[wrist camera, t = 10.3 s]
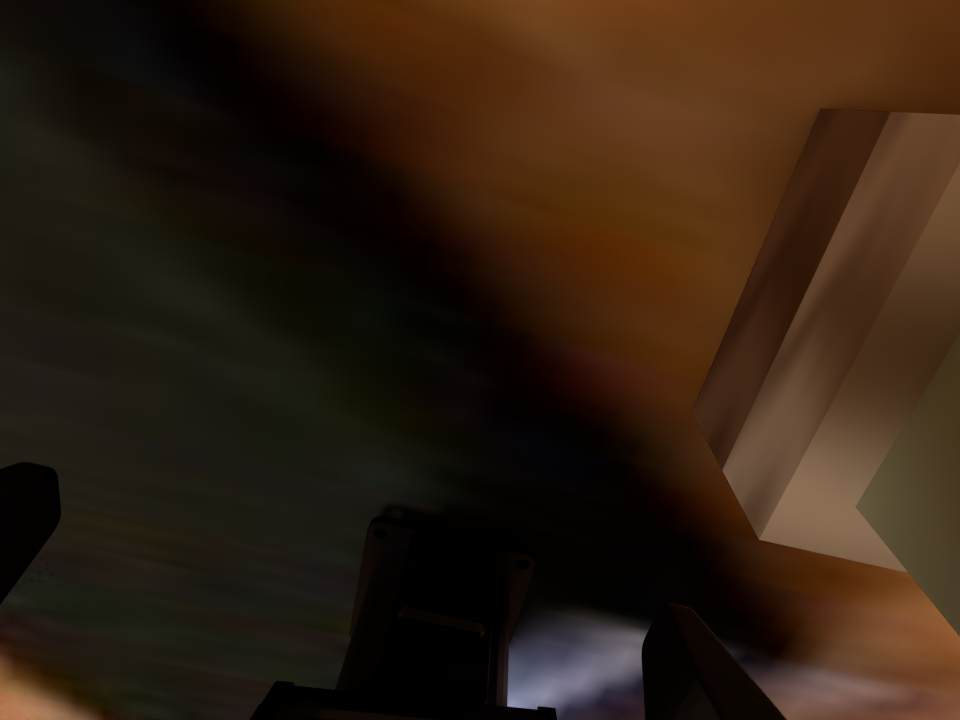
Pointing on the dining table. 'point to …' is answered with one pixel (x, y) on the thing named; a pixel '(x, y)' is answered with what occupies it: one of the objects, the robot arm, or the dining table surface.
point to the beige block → (839, 328)
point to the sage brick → (925, 492)
